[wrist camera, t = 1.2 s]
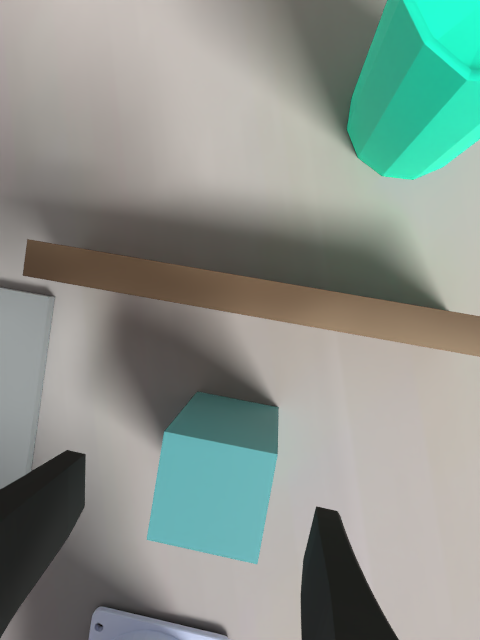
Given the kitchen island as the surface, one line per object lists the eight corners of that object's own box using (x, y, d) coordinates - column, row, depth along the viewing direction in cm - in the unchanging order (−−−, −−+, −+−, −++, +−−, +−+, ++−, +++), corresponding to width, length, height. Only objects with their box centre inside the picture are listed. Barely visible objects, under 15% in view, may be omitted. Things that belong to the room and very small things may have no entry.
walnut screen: (443, 343, 23) (488, 358, 18) (74, 278, 25) (22, 275, 20) (450, 312, 23) (497, 319, 18) (79, 249, 24) (27, 239, 19)
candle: (393, 204, 23) (515, 111, 11) (322, 111, 23) (368, -86, 11) (493, 128, 22) (742, -60, 10) (421, 32, 22) (585, -270, 10)
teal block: (264, 486, 24) (257, 564, 17) (184, 469, 25) (146, 539, 18) (278, 407, 24) (277, 454, 17) (197, 391, 24) (164, 431, 17)
